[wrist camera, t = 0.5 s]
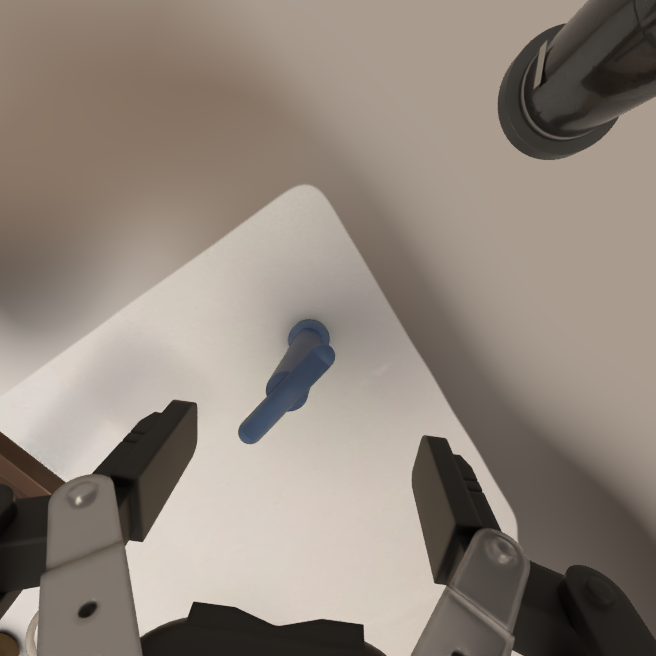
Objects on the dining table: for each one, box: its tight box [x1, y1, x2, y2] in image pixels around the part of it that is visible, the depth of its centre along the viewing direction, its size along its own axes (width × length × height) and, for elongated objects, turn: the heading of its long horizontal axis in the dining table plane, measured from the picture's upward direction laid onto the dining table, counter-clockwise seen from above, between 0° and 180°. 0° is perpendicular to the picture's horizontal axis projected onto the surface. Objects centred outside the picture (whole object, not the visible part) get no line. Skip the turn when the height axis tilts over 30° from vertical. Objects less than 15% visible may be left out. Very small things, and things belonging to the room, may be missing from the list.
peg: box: [238, 320, 335, 444], centre depth 30 cm, size 4×9×17 cm, turn 138°
